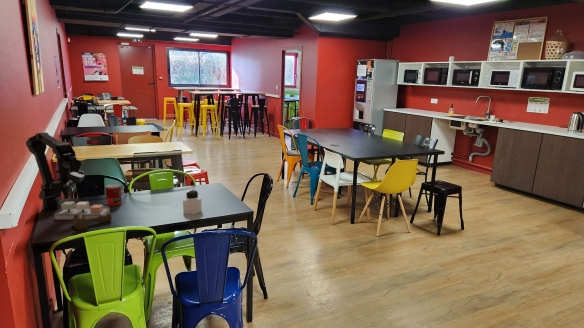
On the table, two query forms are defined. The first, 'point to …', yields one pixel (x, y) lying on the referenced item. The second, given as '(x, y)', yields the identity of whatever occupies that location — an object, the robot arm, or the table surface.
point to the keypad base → (71, 213)
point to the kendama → (89, 220)
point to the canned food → (113, 194)
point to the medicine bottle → (192, 203)
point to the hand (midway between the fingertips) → (67, 197)
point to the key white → (82, 205)
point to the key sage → (68, 205)
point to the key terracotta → (96, 208)
